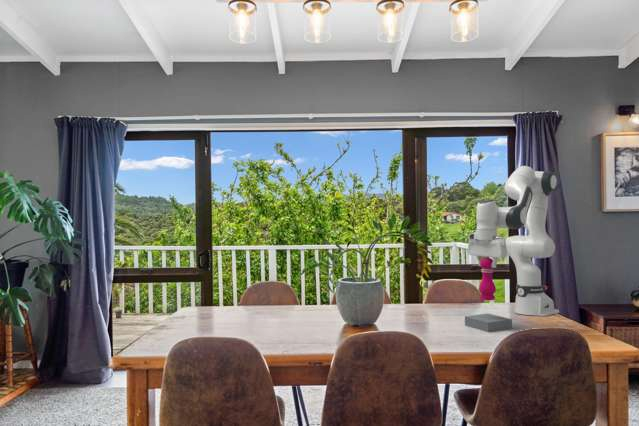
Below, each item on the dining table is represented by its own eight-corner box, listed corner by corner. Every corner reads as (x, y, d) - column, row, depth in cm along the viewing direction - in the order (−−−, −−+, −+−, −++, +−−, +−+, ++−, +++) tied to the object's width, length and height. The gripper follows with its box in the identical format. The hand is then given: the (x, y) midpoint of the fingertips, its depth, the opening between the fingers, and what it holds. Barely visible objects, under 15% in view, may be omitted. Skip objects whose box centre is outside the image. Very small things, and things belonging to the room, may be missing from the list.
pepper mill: (497, 300, 206) (497, 255, 206) (480, 300, 207) (479, 254, 207) (494, 298, 213) (494, 253, 213) (477, 297, 214) (477, 253, 214)
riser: (488, 322, 219) (487, 313, 219) (512, 328, 207) (511, 319, 207) (464, 325, 213) (464, 316, 213) (488, 332, 201) (488, 322, 201)
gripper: (510, 236, 202) (510, 268, 202) (475, 234, 221) (476, 264, 220) (499, 236, 199) (500, 269, 199) (465, 235, 218) (465, 265, 218)
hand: (487, 266), depth 210 cm, fingers closed on pepper mill, 6 cm apart
